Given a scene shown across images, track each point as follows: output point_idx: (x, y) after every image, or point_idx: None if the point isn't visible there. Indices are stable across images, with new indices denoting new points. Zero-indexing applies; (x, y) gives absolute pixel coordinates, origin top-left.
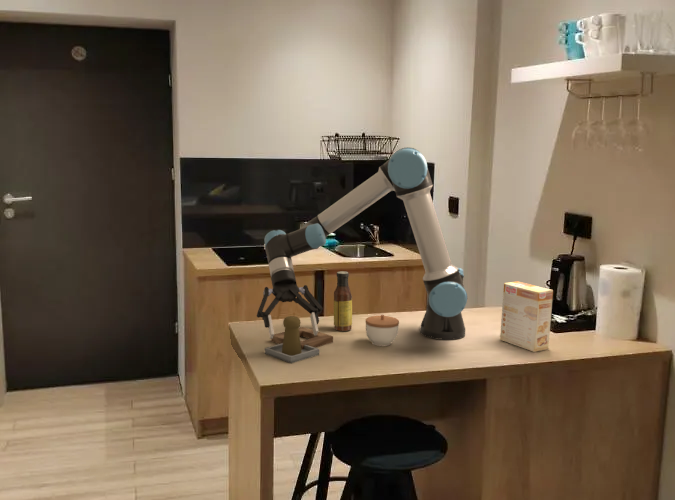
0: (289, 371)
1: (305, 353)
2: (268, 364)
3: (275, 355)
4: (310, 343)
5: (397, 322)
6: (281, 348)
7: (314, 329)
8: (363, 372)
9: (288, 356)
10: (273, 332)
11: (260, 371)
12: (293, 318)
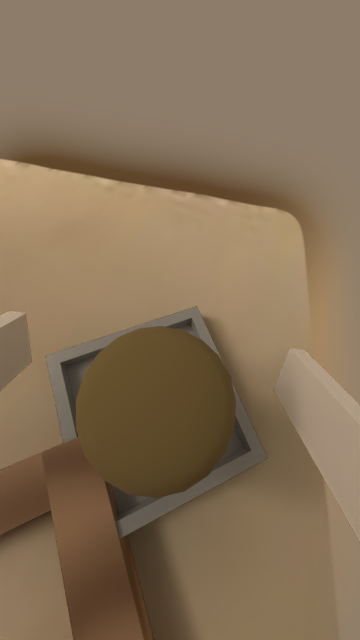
0: (220, 259)
1: (127, 329)
2: (265, 332)
3: None
4: (28, 458)
5: None
6: None
7: (11, 346)
8: (35, 185)
9: (202, 318)
10: (297, 354)
11: (297, 288)
12: (160, 353)
